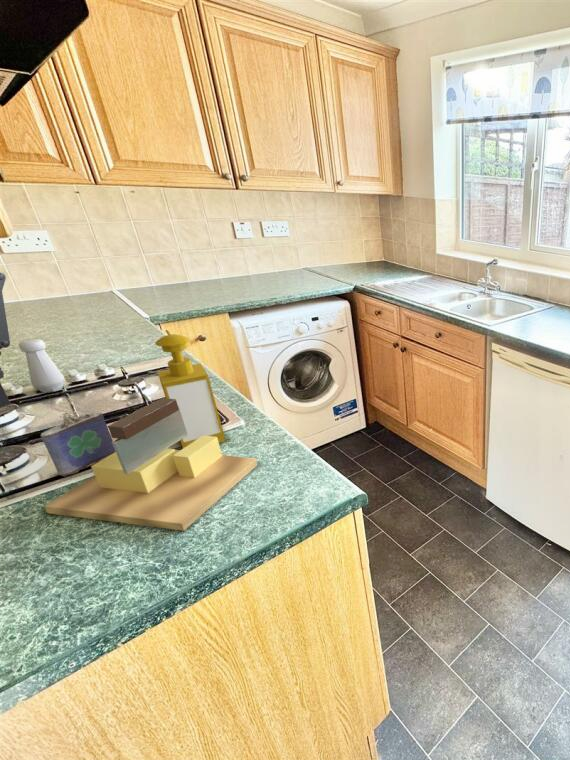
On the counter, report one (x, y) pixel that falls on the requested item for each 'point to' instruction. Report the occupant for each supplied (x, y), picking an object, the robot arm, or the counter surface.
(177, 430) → the dough scraper
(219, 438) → the soap bottle
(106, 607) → the counter surface
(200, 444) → the butter pat
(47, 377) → the salt shaker
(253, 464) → the butter board
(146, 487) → the butter block
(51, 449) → the flask
